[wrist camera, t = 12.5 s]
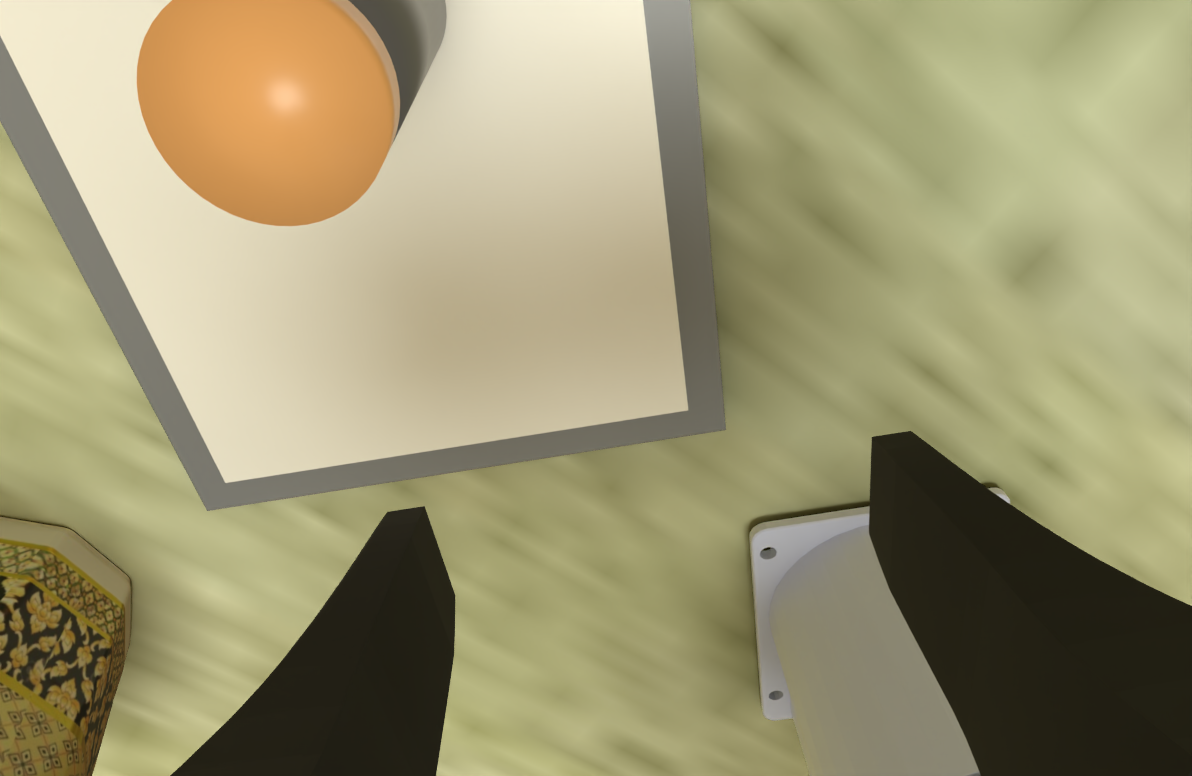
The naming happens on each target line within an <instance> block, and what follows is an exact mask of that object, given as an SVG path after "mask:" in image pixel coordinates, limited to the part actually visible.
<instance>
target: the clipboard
mask: <svg viewBox="0 0 1192 776" xmlns="http://www.w3.org/2000/svg"><path fill="white" fill-rule="evenodd" d="M171 1H172V0H0V121H1V123H2V125H3V127H4V129H5V131H6V133H7V135H8V136H9V138H10V140H11V142H12V144H13V146H14V148H15V150H16V152H17V153H18V155H19V157H20V159H21V161H22V163H23V165H24V167H25V168H26V170H27V172H28V174H29V176H30V178H31V180H32V182H33V184H34V185H35V187H36V189H37V191H38V193H39V195H40V197H41V199H42V201H43V202H44V204H45V206H46V208H47V210H48V212H49V214H50V216H51V217H52V219H53V221H54V223H55V225H56V227H57V229H58V231H59V233H60V234H61V236H62V238H63V240H64V242H65V244H66V246H67V248H68V250H69V251H70V253H71V255H72V257H73V259H74V261H75V263H76V265H77V266H78V268H79V270H80V272H81V274H82V276H83V278H84V280H85V282H86V283H87V285H88V287H89V289H90V291H91V293H92V295H93V297H94V298H95V300H96V302H97V304H98V306H99V308H100V310H101V312H102V314H103V315H104V317H105V319H106V321H107V323H108V325H109V327H110V329H111V331H112V332H113V334H114V336H115V338H116V340H117V342H118V344H119V346H120V347H121V349H122V351H123V353H124V355H125V357H126V359H127V361H128V363H129V364H130V366H131V368H132V370H133V372H134V374H135V376H136V378H137V380H138V381H139V383H140V385H141V387H142V389H143V391H144V393H145V395H146V396H147V398H148V400H149V402H150V404H151V406H152V408H153V410H154V412H155V413H156V415H157V417H158V419H159V421H160V423H161V425H162V427H163V429H164V430H165V432H166V434H167V436H168V438H169V440H170V442H171V444H172V445H173V447H174V449H175V451H176V453H177V455H178V457H179V459H180V461H181V462H182V464H183V466H184V468H185V470H186V472H187V474H188V476H189V478H190V479H191V481H192V483H193V485H194V487H195V489H196V491H197V493H198V494H199V496H200V498H201V500H202V502H203V504H204V506H205V508H206V510H207V511H210V510H216V509H222V508H229V507H235V506H242V505H248V504H254V503H261V502H267V501H274V500H280V499H286V498H293V497H299V496H306V495H312V494H318V493H325V492H331V491H338V490H344V489H351V488H357V487H363V486H370V485H376V484H383V483H389V482H395V481H402V480H408V479H415V478H421V477H427V476H434V475H440V474H447V473H453V472H459V471H466V470H472V469H479V468H485V467H491V466H498V465H504V464H511V463H517V462H523V461H530V460H536V459H543V458H549V457H556V456H562V455H568V454H575V453H581V452H588V451H594V450H600V449H607V448H613V447H620V446H626V445H632V444H639V443H645V442H652V441H658V440H664V439H671V438H677V437H684V436H690V435H696V434H703V433H709V432H716V431H722V430H726V425H725V413H724V401H723V389H722V377H721V365H720V353H719V341H718V329H717V317H716V305H715V293H714V281H713V269H712V257H711V245H710V233H709V220H708V208H707V196H706V184H705V172H704V160H703V148H702V136H701V124H700V112H699V100H698V88H697V76H696V64H695V52H694V40H693V28H692V16H691V4H690V0H445V3H446V15H447V18H446V29H445V33H444V38H443V40H442V43H441V46H440V48H439V50H438V52H437V54H436V56H435V58H434V60H433V62H432V64H431V67H430V69H429V71H428V73H427V75H426V77H425V79H424V81H423V83H422V85H421V87H420V89H419V91H418V93H417V95H416V97H415V99H414V101H413V103H412V105H411V107H410V109H409V112H408V114H407V116H406V118H405V120H404V122H403V124H402V126H401V128H400V130H399V132H398V134H397V136H396V138H395V140H394V142H393V144H392V146H391V148H390V150H389V152H388V154H387V157H386V159H385V161H384V163H383V165H382V167H381V169H380V171H379V173H378V175H377V177H376V179H375V180H374V182H373V183H372V185H371V186H370V187H369V189H368V190H367V191H366V192H365V193H364V195H363V196H362V197H361V198H360V199H359V200H358V201H357V202H355V203H354V204H353V205H351V206H350V207H349V208H348V209H346V210H344V211H343V212H341V213H339V214H337V215H335V216H333V217H331V218H328V219H326V220H323V221H320V222H316V223H312V224H308V225H299V226H274V225H266V224H260V223H256V222H253V221H249V220H245V219H243V218H240V217H237V216H235V215H232V214H230V213H228V212H226V211H224V210H222V209H220V208H218V207H216V206H214V205H213V204H211V203H210V202H208V201H207V200H205V199H203V198H202V197H201V196H199V195H198V194H197V193H196V192H194V191H193V190H192V189H191V188H189V187H188V186H187V185H186V184H185V183H184V182H183V181H182V180H181V179H180V178H179V177H178V176H177V175H176V174H175V172H174V171H173V170H172V169H171V168H170V166H169V165H168V164H167V163H166V162H165V160H164V159H163V157H162V155H161V154H160V152H159V151H158V149H157V148H156V146H155V144H154V142H153V140H152V138H151V136H150V134H149V133H148V130H147V127H146V125H145V122H144V119H143V117H142V113H141V109H140V104H139V100H138V92H137V64H138V58H139V53H140V49H141V46H142V43H143V40H144V37H145V35H146V33H147V31H148V29H149V27H150V25H151V24H152V22H153V21H154V19H155V18H156V17H157V15H158V14H159V13H160V11H161V10H162V9H163V8H164V7H165V6H166V5H167V4H169V3H170V2H171Z"/></svg>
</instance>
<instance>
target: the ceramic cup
mask: <svg viewBox="0 0 1192 776" xmlns="http://www.w3.org/2000/svg"><path fill="white" fill-rule="evenodd" d="M130 629H131V587H130V579H129V577H128V576H127V575H126V574H125V573H123V572H122V571H121V570H120V569H119V568H117V567H116V566H115V565H114V564H113V563H111V562H110V561H109V560H108V559H107V558H105V557H104V556H103V555H102V554H100V553H99V552H98V551H97V550H96V549H94V548H93V547H92V546H91V545H90V544H88V543H87V542H86V541H85V540H84V539H82V538H81V537H80V536H79V535H77V534H76V533H75V532H74V531H72V530H70V529H68V528H64V527H59V526H53V525H47V524H41V523H35V522H29V521H23V520H17V519H11V518H5V517H0V776H92V774H93V771H94V767H95V764H96V760H97V757H98V753H99V750H100V746H101V743H102V739H103V736H104V732H105V728H106V725H107V721H108V718H109V714H110V711H111V707H112V703H113V699H114V696H115V693H116V690H117V687H118V684H119V680H120V677H121V674H122V671H123V667H124V662H125V659H126V655H127V652H128V648H129V645H130Z"/></svg>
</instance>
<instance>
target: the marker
mask: <svg viewBox="0 0 1192 776" xmlns="http://www.w3.org/2000/svg"><path fill="white" fill-rule="evenodd" d="M446 18H447V15H446V3H445V0H172V1H171V2H170V3H169V4H167V5H166V6H165V7H164V8H163V9H162V10H161V11H160V13H159V14H158V15H157V17H156V18H155V19H154V21H153V22H152V24H151V25H150V27H149V29H148V31H147V33H146V35H145V37H144V40H143V43H142V46H141V49H140V53H139V58H138V64H137V92H138V100H139V104H140V109H141V113H142V117H143V119H144V122H145V125H146V127H147V130H148V133H149V134H150V136H151V138H152V140H153V142H154V144H155V146H156V148H157V149H158V151H159V152H160V154H161V155H162V157H163V159H164V160H165V162H166V163H167V164H168V165H169V166H170V168H171V169H172V170H173V171H174V172H175V174H176V175H177V176H178V177H179V178H180V179H181V180H182V181H183V182H184V183H185V184H186V185H187V186H188V187H189V188H191V189H192V190H193V191H194V192H196V193H197V194H198V195H199V196H201V197H202V198H203V199H205V200H207V201H208V202H210V203H211V204H213V205H214V206H216V207H218V208H220V209H222V210H224V211H226V212H228V213H230V214H232V215H235V216H237V217H240V218H243V219H245V220H249V221H253V222H256V223H260V224H266V225H274V226H299V225H308V224H312V223H316V222H320V221H323V220H326V219H328V218H331V217H333V216H335V215H337V214H339V213H341V212H343V211H344V210H346V209H348V208H349V207H350V206H351V205H353V204H354V203H355V202H357V201H358V200H359V199H360V198H361V197H362V196H363V195H364V193H365V192H366V191H367V190H368V189H369V187H370V186H371V185H372V183H373V182H374V180H375V179H376V177H377V175H378V173H379V171H380V169H381V167H382V165H383V163H384V161H385V159H386V157H387V154H388V152H389V150H390V148H391V146H392V144H393V142H394V140H395V138H396V136H397V134H398V132H399V130H400V128H401V126H402V124H403V122H404V120H405V118H406V116H407V114H408V112H409V109H410V107H411V105H412V103H413V101H414V99H415V97H416V95H417V93H418V91H419V89H420V87H421V85H422V83H423V81H424V79H425V77H426V75H427V73H428V71H429V69H430V67H431V64H432V62H433V60H434V58H435V56H436V54H437V52H438V50H439V48H440V46H441V43H442V40H443V38H444V33H445V29H446Z"/></svg>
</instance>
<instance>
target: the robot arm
mask: <svg viewBox="0 0 1192 776" xmlns="http://www.w3.org/2000/svg"><path fill="white" fill-rule="evenodd" d="M749 541H750V555H751V569H752V583H753V597H754V612H755V626H756V640H757V654H758V669H759V683H760V697H761V708H762V712H763V715H764V717H765V718H767V719H769V720H784V719H791V718H793V721H794V724H795V728H796V731H797V734H798V738H799V741H800V745H801V748H802V752H803V755H804V758H805V762H806V765H807V769H808V772H809V776H1192V606H1190V605H1188V604H1186V603H1184V602H1181V601H1179V600H1177V599H1175V598H1173V597H1170V596H1168V595H1166V594H1164V593H1162V592H1160V591H1158V590H1156V589H1154V588H1152V587H1150V586H1148V585H1146V584H1144V583H1142V582H1140V581H1138V580H1136V579H1134V578H1132V577H1130V576H1128V575H1127V574H1125V573H1123V572H1121V571H1119V570H1117V569H1115V568H1113V567H1112V566H1110V565H1108V564H1106V563H1104V562H1102V561H1100V560H1098V559H1097V558H1095V557H1093V556H1091V555H1090V554H1088V553H1086V552H1084V551H1083V550H1081V549H1079V548H1078V547H1076V546H1074V545H1073V544H1071V543H1069V542H1068V541H1066V540H1064V539H1063V538H1061V537H1060V536H1058V535H1056V534H1055V533H1053V532H1052V531H1050V530H1048V529H1047V528H1045V527H1044V526H1042V525H1040V524H1039V523H1037V522H1036V521H1034V520H1033V519H1031V518H1030V517H1028V516H1027V515H1025V514H1024V513H1022V512H1021V511H1019V510H1018V509H1016V508H1015V507H1013V506H1012V505H1010V499H1009V498H1008V496H1007V495H1006V494H1005V492H1004V491H1003V490H1002V489H999V488H986V487H985V486H983V485H982V484H981V483H979V482H978V481H977V480H975V479H974V478H973V477H971V476H970V475H969V474H967V473H966V472H964V471H963V470H962V469H960V468H959V467H958V466H956V465H955V464H954V463H952V462H951V461H950V460H949V459H947V458H946V457H945V456H943V455H942V454H941V453H939V452H938V451H937V450H935V449H934V448H933V447H931V446H930V445H929V444H927V443H926V442H925V441H923V440H922V439H921V438H919V437H918V436H917V435H915V434H914V433H913V432H911V431H908V432H901V433H895V434H888V435H882V436H875V437H872V450H871V480H870V506H867V507H861V508H854V509H848V510H841V511H835V512H828V513H821V514H815V515H808V516H802V517H795V518H789V519H782V520H775V521H769V522H763V523H760V524H758V525H756V526H755V527H753V529H752V530H751V531H750V535H749ZM767 547H772V548H771V549H769V550H767V551H762V550H763V549H764V548H767ZM454 637H455V594H454V591H453V588H452V585H451V582H450V579H449V576H448V573H447V570H446V567H445V565H444V562H443V559H442V556H441V553H440V550H439V547H438V544H437V541H436V538H435V535H434V533H433V530H432V527H431V524H430V521H429V518H428V515H427V512H426V509H425V506H424V507H417V508H411V509H404V510H398V511H391V512H387V514H386V515H385V516H384V517H383V519H382V520H381V522H380V523H379V525H378V526H377V528H376V529H375V531H374V532H373V534H372V535H371V537H370V538H369V540H368V541H367V543H366V544H365V546H364V547H363V549H362V551H361V552H360V554H359V555H358V557H357V558H356V560H355V561H354V563H353V564H352V566H351V567H350V569H349V570H348V572H347V573H346V575H345V576H344V578H343V579H342V580H341V582H340V583H339V585H338V586H337V588H336V589H335V590H334V592H333V593H332V595H331V596H330V598H329V599H328V600H327V602H326V603H325V605H324V606H323V608H322V609H321V610H320V612H319V613H318V615H317V616H316V617H315V619H314V620H313V621H312V623H311V624H310V625H309V627H308V628H307V629H306V630H305V632H304V633H303V634H302V636H301V637H300V638H299V639H298V641H297V642H296V643H295V645H294V646H293V647H292V648H291V650H290V651H289V652H288V654H287V655H286V656H285V658H284V659H283V660H282V661H281V662H280V664H279V665H278V666H277V667H276V668H275V670H274V671H273V672H272V673H271V674H270V676H269V677H268V678H267V679H266V680H265V681H264V683H263V684H262V685H261V686H260V687H259V688H258V689H257V690H256V691H255V692H254V694H253V695H252V696H251V697H250V698H249V699H248V700H247V701H246V702H245V703H244V704H243V706H242V707H241V708H240V709H239V710H238V711H237V712H236V713H235V714H234V715H233V716H232V717H231V718H230V719H229V720H228V721H227V722H226V723H225V724H224V725H223V726H222V727H221V728H220V729H219V730H218V731H217V732H216V733H215V734H214V735H213V736H212V737H211V738H210V739H209V740H207V741H206V742H205V743H204V744H203V745H202V746H201V747H200V748H199V749H198V750H197V751H196V752H195V753H194V754H193V755H192V756H191V757H190V758H189V759H188V760H187V761H186V762H185V763H184V764H183V765H182V766H180V767H179V768H178V769H177V770H176V771H175V772H174V773H173V774H172V775H170V776H436V771H437V764H438V758H439V751H440V745H441V738H442V732H443V725H444V719H445V712H446V706H447V699H448V692H449V685H450V678H451V672H452V665H453V657H454Z"/></svg>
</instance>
